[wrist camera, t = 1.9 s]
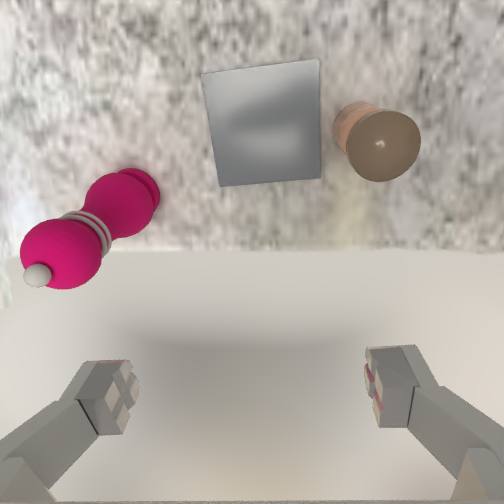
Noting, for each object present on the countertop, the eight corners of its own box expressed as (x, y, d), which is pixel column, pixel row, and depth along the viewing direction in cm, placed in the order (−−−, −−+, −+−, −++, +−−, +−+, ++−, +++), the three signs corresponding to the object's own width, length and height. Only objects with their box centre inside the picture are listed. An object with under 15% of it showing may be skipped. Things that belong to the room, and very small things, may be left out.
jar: (384, 97, 34) (425, 107, 24) (380, 150, 36) (415, 178, 27) (331, 103, 34) (351, 116, 25) (331, 155, 37) (348, 184, 27)
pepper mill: (106, 158, 39) (-33, 228, 22) (165, 170, 39) (74, 249, 22) (108, 212, 43) (-10, 310, 25) (162, 223, 43) (82, 328, 25)
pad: (318, 58, 32) (319, 58, 32) (319, 175, 38) (320, 177, 37) (202, 74, 34) (200, 74, 33) (220, 184, 40) (219, 186, 39)
